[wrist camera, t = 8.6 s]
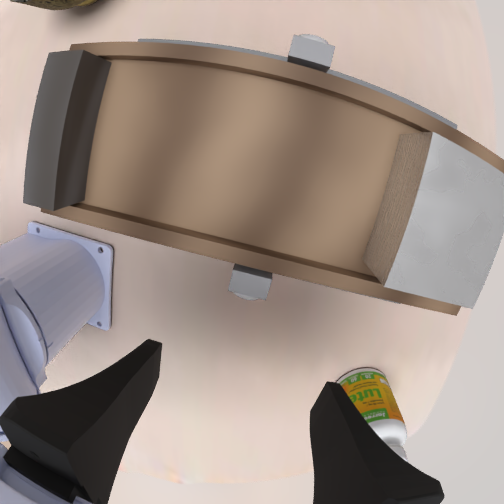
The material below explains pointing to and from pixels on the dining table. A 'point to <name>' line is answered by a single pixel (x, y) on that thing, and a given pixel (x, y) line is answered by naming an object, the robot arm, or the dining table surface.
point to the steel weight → (437, 221)
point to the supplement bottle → (377, 406)
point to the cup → (56, 3)
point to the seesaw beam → (223, 157)
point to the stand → (312, 56)
